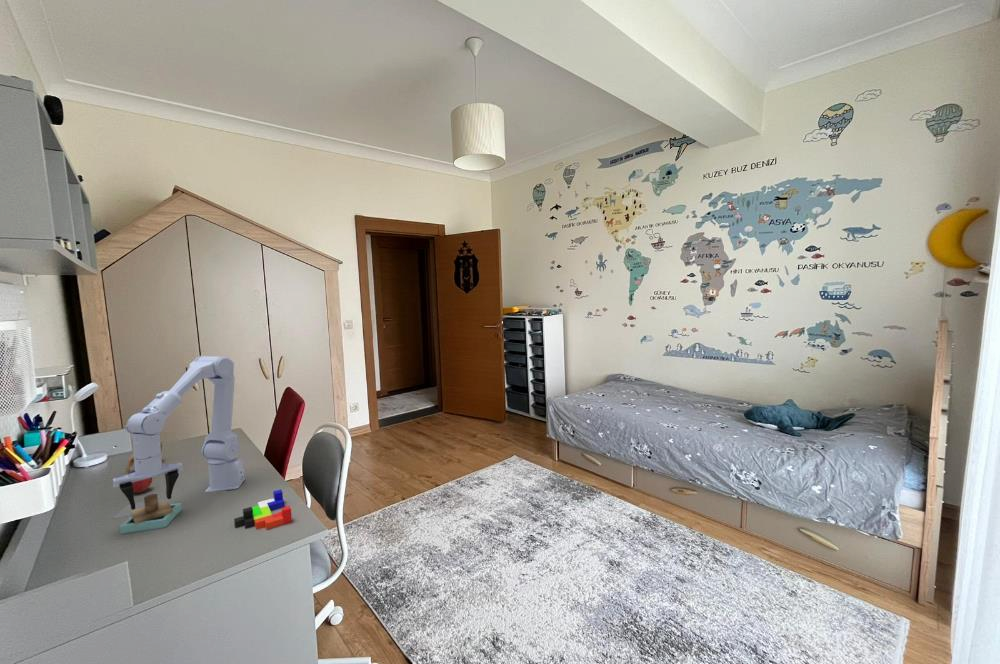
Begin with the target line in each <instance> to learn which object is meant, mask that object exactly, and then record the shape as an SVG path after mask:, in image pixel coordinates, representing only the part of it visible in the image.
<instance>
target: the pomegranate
mask: <svg viewBox="0 0 1000 664" xmlns="http://www.w3.org/2000/svg"><path fill="white" fill-rule="evenodd" d="M152 483H153V477H152V478H148V479H144V480H140V481H136V482H132V486H133V490H134V493H138V494H139V493H140V494H141V493H144V492H145V491H146V490H147V489H149V487H150V486H151V485H152Z"/></svg>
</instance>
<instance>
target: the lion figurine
mask: <svg viewBox="0 0 1000 664" xmlns="http://www.w3.org/2000/svg"><path fill="white" fill-rule="evenodd" d="M160 446H161V453H162V450H163V443H162V441H161V440H160ZM133 465H134V453H132V455H131V456H130V457H129V459H128V463H127V467H126V469H125V475H128V474H131V473H132V472H131V469H132V467H133Z"/></svg>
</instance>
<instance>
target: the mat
mask: <svg viewBox="0 0 1000 664" xmlns="http://www.w3.org/2000/svg"><path fill="white" fill-rule="evenodd" d="M166 500H167V501H169V499H168V498H163V499H162V498H161V499H158V503H159V502H163V501H166ZM142 507H145V503H144V501H140V502H135V509H139V508H142ZM135 509H134V510H135ZM131 511H132V509H131V505H130V503H128V504H127V505H126V506H125V507H124V508H123V509H121V510H120V511H119V512H118V513H117V514H115V515H114V516H113V517H112V519H118V518H125V517H126V518H128V517H131V516H132V515H131Z"/></svg>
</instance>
